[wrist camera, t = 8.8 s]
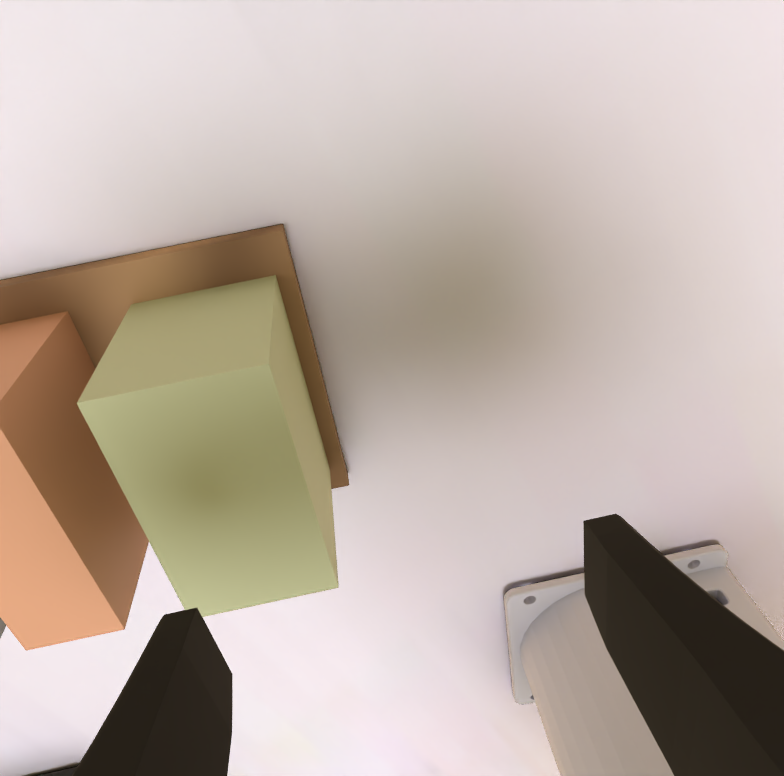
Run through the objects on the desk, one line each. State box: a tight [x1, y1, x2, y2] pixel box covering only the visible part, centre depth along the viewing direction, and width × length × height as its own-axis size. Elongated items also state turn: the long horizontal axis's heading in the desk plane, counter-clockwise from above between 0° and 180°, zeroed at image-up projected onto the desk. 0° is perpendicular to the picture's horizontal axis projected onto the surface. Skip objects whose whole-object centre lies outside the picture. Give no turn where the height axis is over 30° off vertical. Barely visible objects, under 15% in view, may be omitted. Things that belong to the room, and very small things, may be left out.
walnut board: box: [0, 224, 349, 489], centre depth 19 cm, size 16×9×1 cm, turn 99°
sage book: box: [77, 275, 339, 617], centre depth 17 cm, size 4×7×5 cm, turn 9°
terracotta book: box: [0, 311, 149, 650], centre depth 17 cm, size 3×7×5 cm, turn 9°
